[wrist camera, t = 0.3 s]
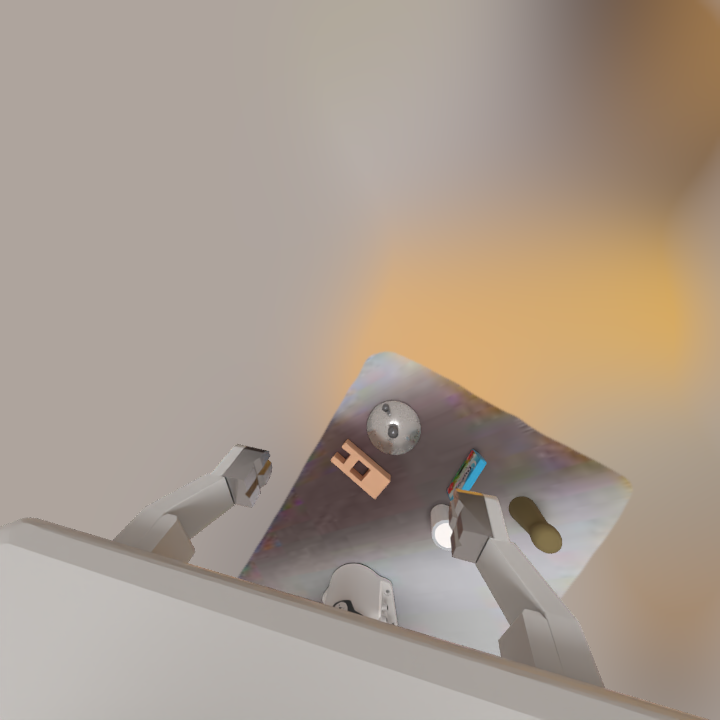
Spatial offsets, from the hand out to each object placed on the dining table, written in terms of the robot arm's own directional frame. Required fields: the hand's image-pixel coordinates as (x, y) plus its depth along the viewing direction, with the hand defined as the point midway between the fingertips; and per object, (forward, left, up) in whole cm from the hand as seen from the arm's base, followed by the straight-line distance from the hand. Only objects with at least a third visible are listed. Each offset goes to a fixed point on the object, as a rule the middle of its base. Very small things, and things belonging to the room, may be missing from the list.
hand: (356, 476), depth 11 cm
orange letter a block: (-19, +15, -53) cm, 58 cm away
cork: (-39, -18, -53) cm, 68 cm away
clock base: (-12, +4, -53) cm, 54 cm away
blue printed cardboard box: (-27, -8, -53) cm, 60 cm away
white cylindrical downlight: (-36, 0, -53) cm, 64 cm away
